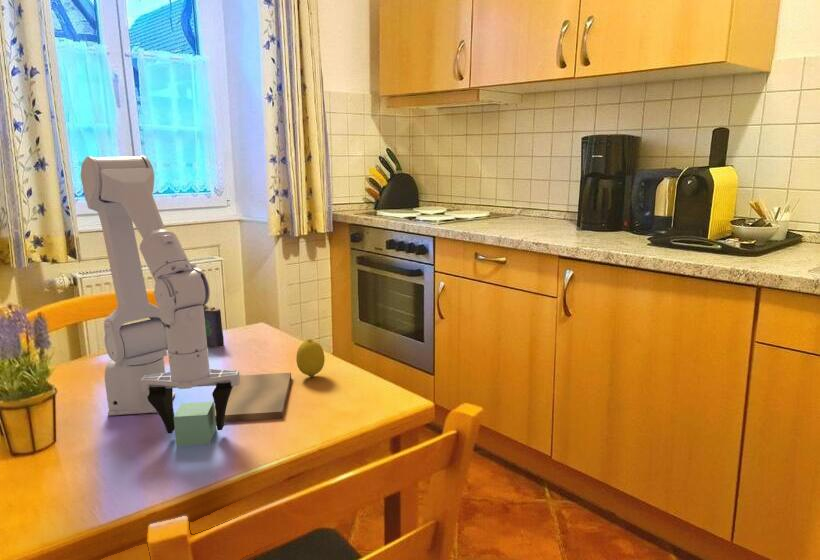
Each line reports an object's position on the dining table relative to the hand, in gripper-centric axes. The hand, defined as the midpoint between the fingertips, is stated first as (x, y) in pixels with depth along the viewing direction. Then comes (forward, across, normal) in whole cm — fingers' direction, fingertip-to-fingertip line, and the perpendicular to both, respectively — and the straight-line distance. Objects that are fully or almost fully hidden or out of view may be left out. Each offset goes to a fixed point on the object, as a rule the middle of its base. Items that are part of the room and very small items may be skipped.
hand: (196, 429), depth 95 cm
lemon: (+2, +17, +23) cm, 29 cm away
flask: (+2, -9, +47) cm, 48 cm away
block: (+2, 0, 0) cm, 2 cm away
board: (+1, +7, +14) cm, 16 cm away
